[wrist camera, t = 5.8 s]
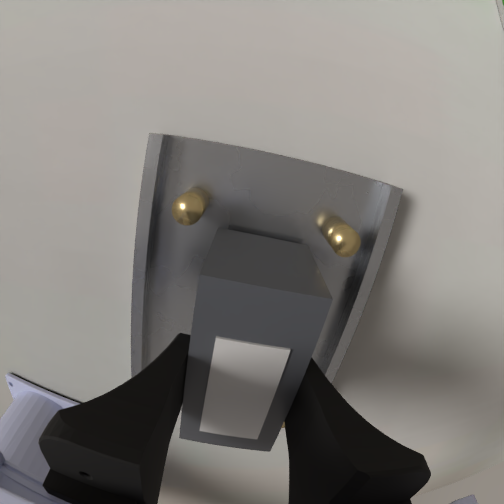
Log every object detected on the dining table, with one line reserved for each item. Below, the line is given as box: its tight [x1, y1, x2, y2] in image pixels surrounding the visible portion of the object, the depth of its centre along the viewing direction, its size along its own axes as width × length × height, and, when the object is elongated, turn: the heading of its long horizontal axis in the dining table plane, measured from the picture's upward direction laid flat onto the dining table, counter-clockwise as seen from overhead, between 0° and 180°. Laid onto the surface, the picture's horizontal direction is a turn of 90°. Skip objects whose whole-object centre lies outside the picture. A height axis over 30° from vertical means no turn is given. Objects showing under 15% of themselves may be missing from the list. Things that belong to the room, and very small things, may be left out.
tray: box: [131, 133, 403, 428], centre depth 15 cm, size 16×11×3 cm
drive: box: [179, 227, 333, 451], centre depth 13 cm, size 8×4×5 cm, turn 168°
